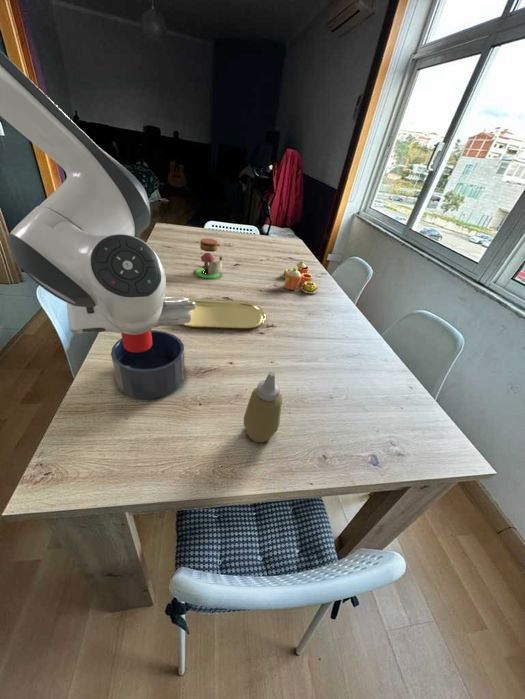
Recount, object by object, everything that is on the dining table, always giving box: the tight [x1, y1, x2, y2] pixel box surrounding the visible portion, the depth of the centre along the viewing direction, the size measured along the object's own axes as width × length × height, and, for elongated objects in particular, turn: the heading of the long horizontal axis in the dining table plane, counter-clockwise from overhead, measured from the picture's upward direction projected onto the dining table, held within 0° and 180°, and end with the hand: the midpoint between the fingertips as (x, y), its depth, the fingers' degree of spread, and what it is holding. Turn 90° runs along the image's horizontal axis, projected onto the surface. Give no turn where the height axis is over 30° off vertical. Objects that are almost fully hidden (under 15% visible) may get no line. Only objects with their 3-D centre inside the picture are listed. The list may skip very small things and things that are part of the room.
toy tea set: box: [282, 260, 318, 294], centre depth 139 cm, size 26×16×10 cm, turn 2°
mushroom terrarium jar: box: [195, 237, 223, 280], centre depth 130 cm, size 12×13×15 cm
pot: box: [110, 329, 186, 400], centre depth 74 cm, size 17×17×9 cm
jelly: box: [120, 329, 152, 352], centre depth 59 cm, size 6×6×8 cm
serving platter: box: [179, 298, 267, 330], centre depth 106 cm, size 19×35×2 cm, turn 99°
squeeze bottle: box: [243, 371, 283, 443], centre depth 62 cm, size 8×8×18 cm
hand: (135, 325), depth 59 cm, fingers closed on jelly, 5 cm apart
